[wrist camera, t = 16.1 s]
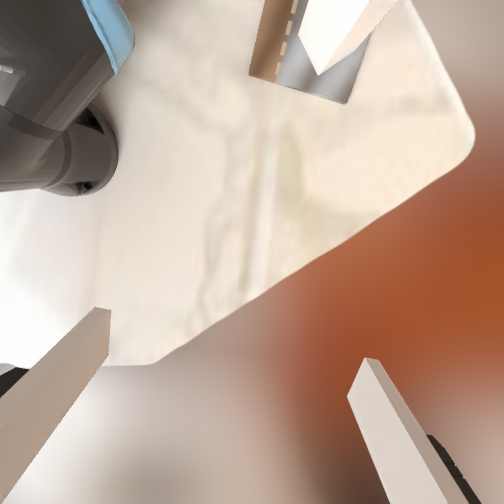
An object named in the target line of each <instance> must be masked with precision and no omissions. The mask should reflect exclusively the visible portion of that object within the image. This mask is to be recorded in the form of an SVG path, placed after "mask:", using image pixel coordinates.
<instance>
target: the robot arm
mask: <svg viewBox="0 0 504 504" xmlns="http://www.w3.org/2000/svg"><path fill="white" fill-rule="evenodd" d="M134 45H135V34H134V31H133V28H132V25H131V23H130V21H129V19H128V17H127V16H126V14H125V12H124V11H123V9H122V8H121V6H120V4H119V3H118V1H117V0H0V192H7V191H17V190H27V189H36V188H39V189H42V190H45V191H48V192H51V193H55V194H58V195H62V196H81V195H88V194H91V193H94V192H97V191H98V190H100V189H102V188H103V187H104V186H105V185H106V184H107V183H108V182H109V181H110V179H111V178H112V176H113V174H114V172H115V169H116V165H117V159H118V151H117V144H116V140H115V136H114V134H113V131H112V129H111V127H110V125H109V123H108V122H107V120H106V119H105V118H104V116H103V115H102V114H101V113H100V112H99V111H98V110H97V109H96V108H95V107H94V106H92V105H91V104H90V102H91V101H92V99H93V98H94V97H95V96H96V95H97V94H98V92H99V91H100V90H101V89H102V88H103V87H104V85H105V84H106V83H107V82H108V81H109V80H110V78H111V77H112V76H117V75H118V72H119V68H120V66H121V65H122V64H123V62H124V61H125V60H126V59H127V57H128V56H129V55H130V53H131V52H132V50H133V48H134ZM110 318H111V310H108V309H102V308H97V307H94V308H93V309H92V310H91V311H90V312H89V313H88V314H87V315H86V316H85V317H84V318H83V319H82V320H81V321H80V322H79V323H78V324H77V325H76V326H75V327H74V328H73V329H72V330H71V331H70V332H69V333H67V334H66V335H65V336H64V337H63V338H62V339H61V340H60V341H59V342H58V343H57V344H56V345H55V346H54V347H53V348H52V349H51V350H50V351H49V352H48V353H47V354H46V355H45V356H44V357H43V358H41V359H40V360H39V361H38V362H37V363H36V364H35V365H34V366H33V367H32V368H31V369H30V370H29V369H23V368H17V367H15V368H14V369H12V370H10V371H8V372H6V373H4V374H2V375H1V376H0V504H2V502H3V500H4V499H5V498H6V497H7V495H8V494H9V492H10V491H11V490H12V488H13V487H14V485H15V484H16V483H17V481H18V480H19V479H20V477H21V476H22V474H23V473H24V472H25V470H26V469H27V467H28V466H29V465H30V463H31V462H32V460H33V459H34V458H35V456H36V455H37V454H38V452H39V451H40V449H41V448H42V447H43V445H44V444H45V442H46V441H47V440H48V438H49V437H50V435H51V434H52V433H53V431H54V430H55V428H56V427H57V425H58V424H59V423H60V422H61V420H62V418H63V417H64V416H65V415H66V413H67V412H68V410H69V409H70V408H71V406H72V405H73V403H74V402H75V401H76V399H77V398H78V397H79V395H80V394H81V392H82V391H83V390H84V388H85V387H86V385H87V384H88V382H89V381H90V380H91V378H92V377H93V376H94V374H95V373H96V371H97V370H98V369H99V367H100V366H101V365H102V363H103V362H104V360H105V359H106V358H107V356H108V352H109V335H110ZM347 398H348V400H349V402H350V405H351V407H352V410H353V412H354V415H355V417H356V420H357V422H358V425H359V427H360V430H361V432H362V435H363V437H364V440H365V442H366V445H367V447H368V449H369V452H370V454H371V457H372V459H373V462H374V464H375V467H376V469H377V472H378V474H379V477H380V479H381V482H382V484H383V487H384V489H385V491H386V494H387V497H388V499H389V501H390V504H481V502H480V501H479V499H478V498H477V496H476V495H475V493H474V492H473V490H472V489H471V487H470V486H469V484H468V483H467V481H466V480H465V479H463V475H462V474H461V472H460V471H459V469H458V468H457V467H456V466H455V465H454V462H453V460H452V459H451V457H450V456H449V454H448V453H447V451H446V450H445V448H444V447H442V445H441V444H440V443H439V442H438V441H437V440H436V439H435V438H434V437H433V436H432V435H426V434H425V433H424V432H423V430H422V428H421V427H420V425H419V424H418V422H417V421H416V419H415V417H414V416H413V414H412V412H411V411H410V409H409V408H408V406H407V405H406V403H405V402H404V400H403V398H402V397H401V395H400V394H399V392H398V390H397V389H396V387H395V386H394V384H393V382H392V381H391V379H390V378H389V376H388V374H387V373H386V371H385V370H384V368H383V367H382V365H381V363H380V362H379V360H375V359H370V358H364V360H363V363H362V365H361V367H360V369H359V371H358V374H357V376H356V378H355V380H354V382H353V385H352V387H351V389H350V391H349V394H348V396H347Z"/></svg>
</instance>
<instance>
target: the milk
mask: <svg viewBox="0 0 504 504" xmlns="http://www.w3.org/2000/svg"><path fill="white" fill-rule="evenodd" d="M396 2H397V0H309V1H308V4H307V7H306V11H305V14H304V17H303V20H302V23H301V26H300V30H299V33H298V36H299V38H300V40H301V42H302V44H303V46H304V48H305V50H306V52H307V54H308V56H309V58H310V60H311V63H312V65H313V67H314V69H315V71H316V73H317V75H318V76H319V75H320V74H322V73H323V72H324V71H326V70H327V69H329V68H330V67H332V66H333V65H335V64H336V63H337V62H339V61H340V60H342V59H343V58H345V57H346V56H348V55H349V54H351V53H352V52H353V51H355V50H356V49H357V48H358V46H359V45H360V44H361V43H362V42H363V41H364V39H365V38H366V37H367V36H368V35H369V33H370V32H371V31H372V30H373V29H374V28H375V26H376V25H377V24H378V23H379V22H380V20H381V19H382V18H383V17H384V16H385V15H386V13H387V12H388V11H389V10H390V9H391V7H392V6H393V5H394V4H395V3H396Z"/></svg>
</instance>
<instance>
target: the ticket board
mask: <svg viewBox="0 0 504 504" xmlns="http://www.w3.org/2000/svg"><path fill="white" fill-rule="evenodd" d="M308 1H309V0H265V4H264V8H263V12H262V17H261V21H260V26H259V30H258V34H257V39H256V43H255V47H254V52H253V56H252V60H251V65H250V69H249V75H250V76H253V77H256V78H259V79H263V80H266V81H269V82H273V83H276V84H279V85H282V86H286V87H289V88H292V89H295V90H299V91H302V92H305V93H308V94H312V95H315V96H318V97H322V98H325V99H328V100H331V101H335V102H338V103H341V104H344V105H345V104H346V103H347V102H348V99H349V96H350V93H351V90H352V87H353V84H354V81H355V78H356V75H357V72H358V69H359V66H360V63H361V60H362V57H363V54H364V51H365V48H366V45H367V42H368V39H369V36H370V33H371V32H370V33H369V35H368V36H367V37H366V38H365V39H364V41H363V42H362V43H361V44H360V45H359V46H358V48H357V49H356V50H355V51H353V52H352V53H351V54H349V55H348V56H346V57H345V58H343V59H342V60H340V61H339V62H337V63H336V64H335V65H333V66H332V67H330V68H329V69H327V70H326V71H324V72H323V73H322V74H320V75H319V76H318V75H317V73H316V71H315V69H314V67H313V65H312V63H311V60H310V58H309V56H308V54H307V52H306V50H305V48H304V46H303V44H302V42H301V40H300V38H299V36H298V33H299V30H300V26H301V23H302V20H303V17H304V14H305V11H306V7H307V4H308Z"/></svg>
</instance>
